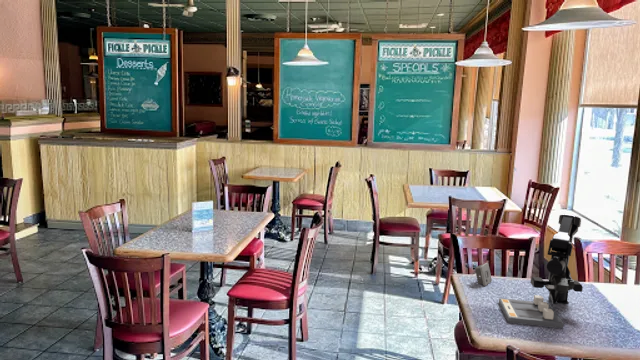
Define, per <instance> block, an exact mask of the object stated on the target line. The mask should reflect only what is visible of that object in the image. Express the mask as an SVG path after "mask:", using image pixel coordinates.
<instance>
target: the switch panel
mask: <svg viewBox="0 0 640 360" xmlns="http://www.w3.org/2000/svg"><path fill="white" fill-rule="evenodd" d="M533 301H534V300H533ZM533 301H531V300H522V299H512V298H511V299H510V298H504V297H503V298H501V297H498V303H499V306H500V308H501V310H502V312H503V314H504V316H505V318H506V320H507V323H512V324H520V325H530V326H539V327H547V328H556V329H557V328H559V329H564V325H565V323H564V322H563V320H562V319H561V318H560V316H559V314H557V312H556V310H555V309H554V308H553V307H552V306H551V304H550V303H549V302H547V304H548V305H549V306H548V309H552V310H553V312H554V316H553V320H552V319H545V318H544V317H543V312H541V311H539V309H538V305H535V303H534V302H533Z"/></svg>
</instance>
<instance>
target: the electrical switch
mask: <svg viewBox="0 0 640 360" xmlns="http://www.w3.org/2000/svg"><path fill="white" fill-rule="evenodd" d="M474 270H475V277H476V280H477V284H478V285H483V286H484V287H486V286H487V285H488V284H490V283H491V282H492V281H493V280H492V275H491V270H490V266H489V262H485V263H484V264H480V265H478V266H476V267H475V268H474Z"/></svg>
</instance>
